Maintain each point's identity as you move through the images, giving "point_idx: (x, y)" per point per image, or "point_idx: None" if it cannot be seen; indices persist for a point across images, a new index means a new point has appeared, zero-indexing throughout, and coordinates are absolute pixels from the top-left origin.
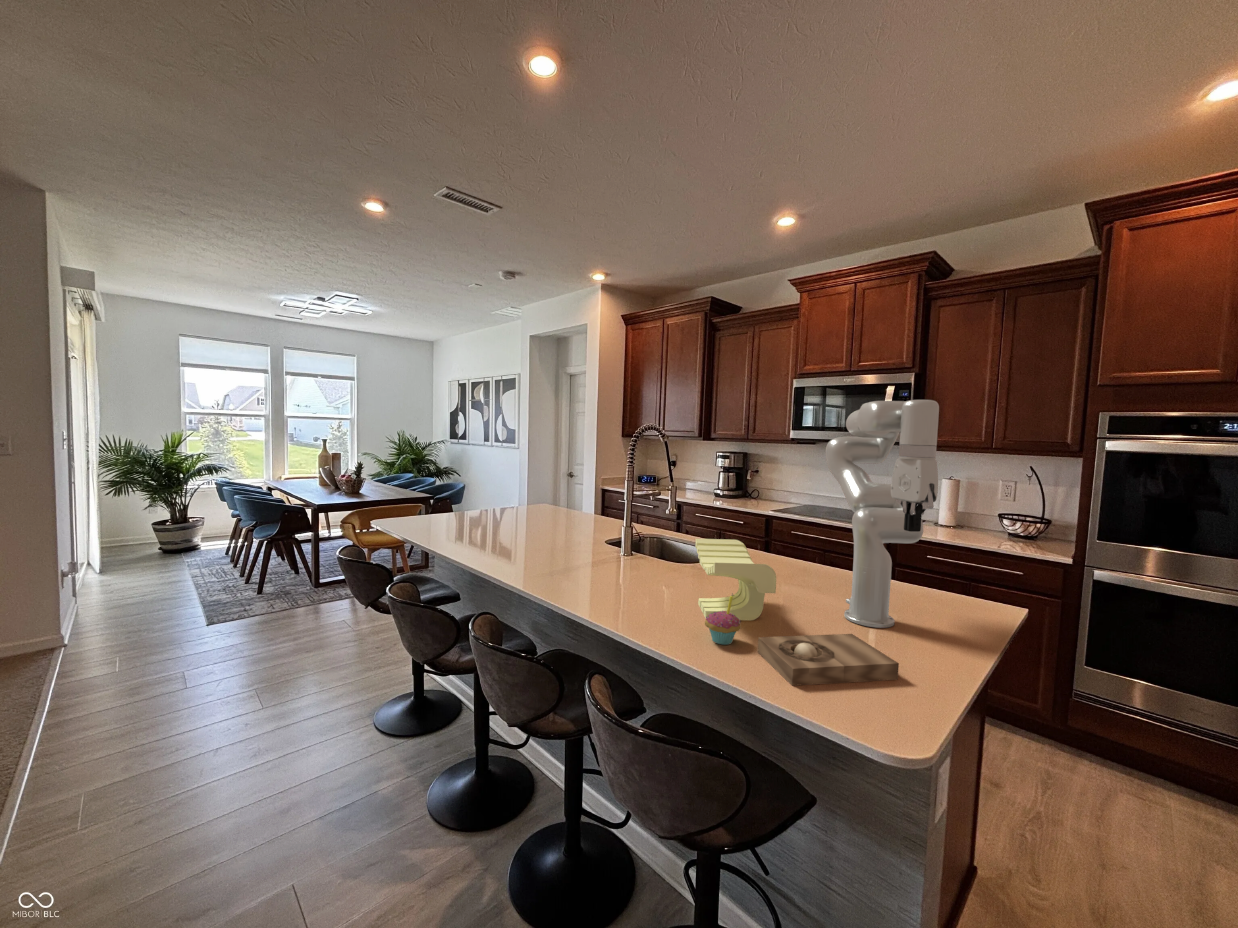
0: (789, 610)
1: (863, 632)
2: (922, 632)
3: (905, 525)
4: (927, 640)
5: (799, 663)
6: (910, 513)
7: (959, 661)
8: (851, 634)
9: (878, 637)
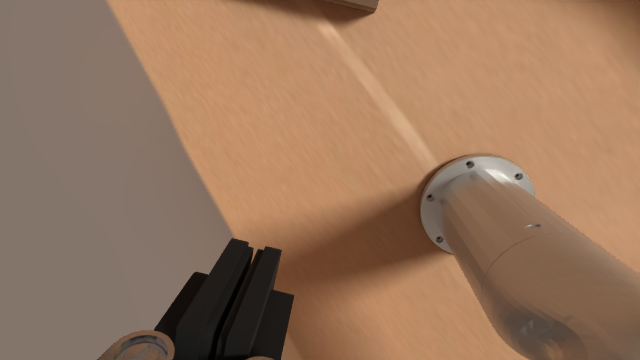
0: (637, 58)
1: (426, 126)
2: (372, 248)
3: (258, 263)
4: (339, 219)
5: None
6: (169, 343)
7: (247, 182)
8: (372, 2)
9: (391, 134)
